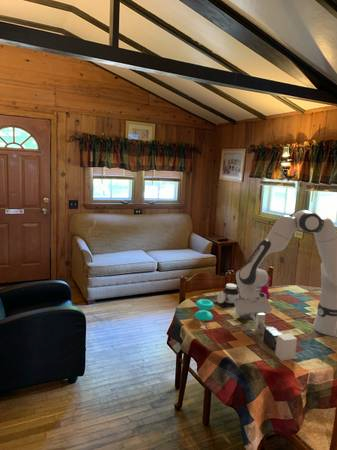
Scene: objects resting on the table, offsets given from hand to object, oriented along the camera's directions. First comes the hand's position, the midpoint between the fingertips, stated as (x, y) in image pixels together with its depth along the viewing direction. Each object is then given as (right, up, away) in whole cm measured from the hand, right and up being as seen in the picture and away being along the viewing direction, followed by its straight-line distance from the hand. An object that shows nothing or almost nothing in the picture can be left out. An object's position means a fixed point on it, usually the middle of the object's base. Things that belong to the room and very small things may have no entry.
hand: (257, 322), depth 181 cm
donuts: (-27, -2, +15) cm, 31 cm away
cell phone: (-20, -5, +4) cm, 21 cm away
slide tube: (+3, -6, -9) cm, 11 cm away
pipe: (-1, -3, +18) cm, 18 cm away
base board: (+3, -9, -11) cm, 15 cm away
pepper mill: (+15, 0, +43) cm, 45 cm away
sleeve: (+4, -8, -13) cm, 15 cm away
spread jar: (-9, +1, +39) cm, 40 cm away
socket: (+7, -10, -22) cm, 25 cm away
